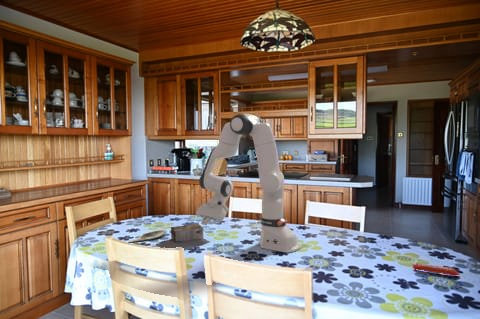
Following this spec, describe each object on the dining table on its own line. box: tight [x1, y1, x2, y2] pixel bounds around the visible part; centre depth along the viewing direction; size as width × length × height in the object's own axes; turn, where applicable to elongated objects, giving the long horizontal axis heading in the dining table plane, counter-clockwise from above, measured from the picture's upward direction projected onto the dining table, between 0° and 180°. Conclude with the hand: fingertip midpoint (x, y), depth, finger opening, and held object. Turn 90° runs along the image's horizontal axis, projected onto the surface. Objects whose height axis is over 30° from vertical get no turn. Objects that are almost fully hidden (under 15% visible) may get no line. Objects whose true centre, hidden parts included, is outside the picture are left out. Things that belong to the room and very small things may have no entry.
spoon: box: [128, 229, 167, 244], centre depth 174 cm, size 35×11×2 cm, turn 139°
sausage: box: [412, 262, 460, 275], centre depth 129 cm, size 16×4×3 cm, turn 62°
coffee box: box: [170, 223, 204, 242], centre depth 177 cm, size 9×6×16 cm
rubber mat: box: [155, 238, 211, 251], centre depth 169 cm, size 18×22×1 cm
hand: (203, 224), depth 179 cm, fingers closed
